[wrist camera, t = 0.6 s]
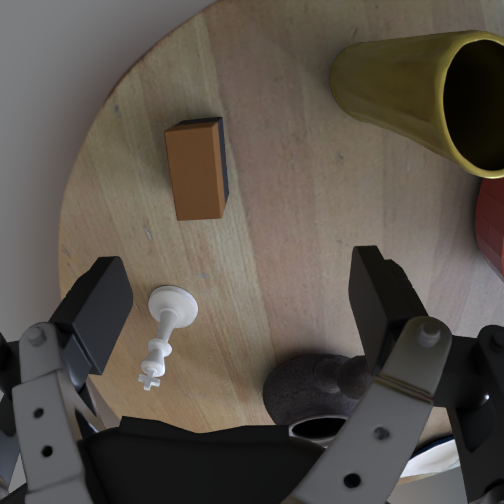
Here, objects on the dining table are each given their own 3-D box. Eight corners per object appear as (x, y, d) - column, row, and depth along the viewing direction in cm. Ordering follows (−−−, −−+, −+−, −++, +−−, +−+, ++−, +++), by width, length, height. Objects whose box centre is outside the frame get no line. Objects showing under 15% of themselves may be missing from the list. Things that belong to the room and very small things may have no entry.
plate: (380, 472, 57) (381, 482, 54) (432, 432, 46) (435, 444, 44) (441, 463, 58) (443, 471, 56) (492, 423, 48) (496, 432, 46)
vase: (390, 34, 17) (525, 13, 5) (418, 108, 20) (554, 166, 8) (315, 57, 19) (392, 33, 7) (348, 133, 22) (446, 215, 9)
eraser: (181, 120, 22) (163, 131, 18) (222, 116, 21) (212, 126, 18) (190, 196, 25) (177, 221, 21) (228, 194, 24) (222, 219, 21)
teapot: (375, 399, 39) (388, 462, 30) (263, 407, 39) (262, 473, 31) (414, 294, 29) (452, 370, 20) (259, 300, 30) (257, 389, 21)
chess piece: (193, 329, 32) (174, 411, 23) (147, 315, 31) (117, 394, 23) (202, 293, 30) (182, 380, 21) (152, 279, 29) (115, 360, 20)
